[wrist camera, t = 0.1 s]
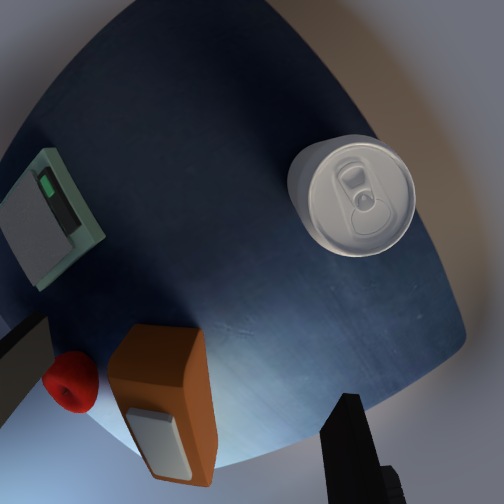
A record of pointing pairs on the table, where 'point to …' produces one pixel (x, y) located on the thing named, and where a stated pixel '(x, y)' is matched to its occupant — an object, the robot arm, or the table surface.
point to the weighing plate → (34, 229)
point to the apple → (73, 381)
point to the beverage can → (352, 194)
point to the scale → (63, 209)
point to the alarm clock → (167, 401)
